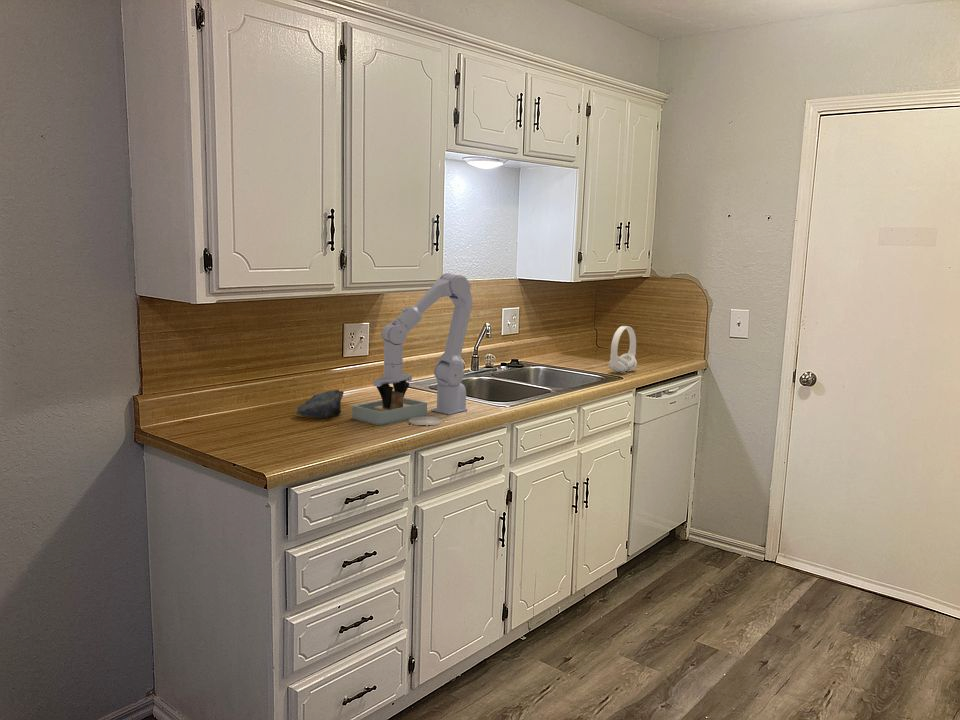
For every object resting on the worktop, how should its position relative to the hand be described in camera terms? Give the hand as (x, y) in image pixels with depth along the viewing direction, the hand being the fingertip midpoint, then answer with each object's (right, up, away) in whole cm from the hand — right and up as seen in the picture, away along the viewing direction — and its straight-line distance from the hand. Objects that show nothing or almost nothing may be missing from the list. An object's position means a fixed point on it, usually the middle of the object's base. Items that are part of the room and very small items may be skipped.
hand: (392, 406), depth 241 cm
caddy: (-1, -3, 0) cm, 3 cm away
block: (0, -1, 0) cm, 1 cm away
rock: (-21, -3, -3) cm, 22 cm away
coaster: (+10, -4, -5) cm, 13 cm away
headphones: (+88, +9, +93) cm, 129 cm away
